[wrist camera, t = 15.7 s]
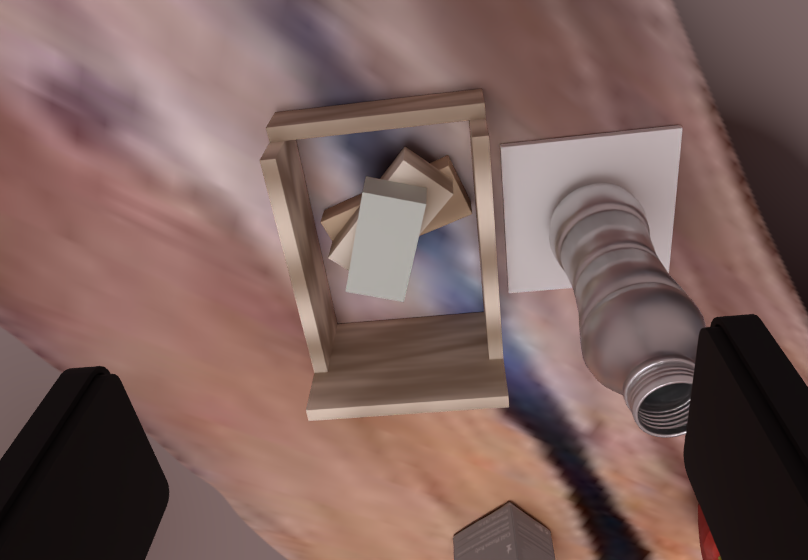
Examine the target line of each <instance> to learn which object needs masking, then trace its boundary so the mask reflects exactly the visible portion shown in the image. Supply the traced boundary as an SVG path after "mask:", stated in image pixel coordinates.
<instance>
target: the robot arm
mask: <svg viewBox="0 0 808 560" xmlns="http://www.w3.org/2000/svg"><path fill="white" fill-rule="evenodd" d="M684 463H685V468H686V472H687V475H688V478H689V480H690V483H691V485H692V488H693V490H694V492H695V495H696V497H697V500H698V502H699V505H700V507H701V510H702V512H703V515H704V517H705V520H706V522H707V524H708V527H709V529H710V532H711V534H712V537H713V539H714V542H715V544H716V547H717V549H718V552H719V554H720V557H721V559H722V560H808V387H807V385H806V384H805V382H804V381H803V379H802V378H801V377H800V375H799V374H798V372H797V371H796V369H795V368H794V367H793V365H792V364H791V362H790V361H789V359H788V358H787V356H786V355H785V354H784V352H783V351H782V349H781V348H780V346H779V345H778V344H777V342H776V341H775V339H774V338H773V336H772V335H771V333H770V332H769V331H768V329H767V328H766V326H765V325H764V323H763V322H762V321H761V319H760V318H759V317H758V316H757V315H754V314H749V315H736V316H723V317H716V318H714V319H713V321H712V322H711V326H710V327H705V328H701V330H700V332H699V337H698V345H697V352H696V360H695V367H694V375H693V383H692V390H691V398H690V406H689V413H688V421H687V429H686V436H685V444H684ZM168 499H169V486H168V482H167V480H166V478H165V475H164V473H163V471H162V469H161V467H160V465H159V462H158V460H157V458H156V456H155V454H154V452H153V449H152V447H151V445H150V443H149V441H148V439H147V436H146V434H145V432H144V430H143V428H142V425H141V423H140V421H139V419H138V417H137V415H136V412H135V410H134V408H133V406H132V404H131V402H130V399H129V397H128V395H127V393H126V391H125V389H124V386H123V384H122V382H121V380H120V378H119V377H118V376H117V375H116V374H110V372H109V370H108V369H106V368H105V367H102V366H95V367H83V368H70V369H67V370H65V371H64V372H63V373H62V374H61V375H60V377H59V378H58V379H57V381H56V382H55V384H54V385H53V386H52V388H51V389H50V391H49V392H48V393H47V395H46V396H45V398H44V399H43V401H42V402H41V403H40V405H39V406H38V407H37V409H36V410H35V412H34V413H33V415H32V416H31V417H30V419H29V420H28V422H27V423H26V425H25V426H24V427H23V429H22V430H21V431H20V433H19V434H18V436H17V437H16V439H15V440H14V442H13V443H12V444H11V446H10V447H9V449H8V450H7V451H6V453H5V454H4V455H3V457H2V458H1V460H0V560H145V558H146V556H147V553H148V551H149V548H150V546H151V544H152V541H153V539H154V536H155V534H156V531H157V529H158V526H159V524H160V521H161V519H162V516H163V514H164V511H165V509H166V507H167V503H168Z"/></svg>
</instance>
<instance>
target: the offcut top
mask: <svg viewBox="0 0 808 560" xmlns="http://www.w3.org/2000/svg"><path fill="white" fill-rule="evenodd" d="M426 195H427V188H424V187H419V186H414V185H409V184H403V183H398V182H393V181H388V180H382V179H377V178H372V177H367V176H366V178H365V183H364V188H363V192H362V198H361V204H360V210H359V216H358V221H357V227H356V233H355V239H354V245H353V251H352V257H351V263H350V268H349V274H348V280H347V286H346V292H350V293H355V294H361V295H367V296H372V297H378V298H383V299H389V300H394V301H400V302H404V299H405V295H406V290H407V286H408V282H409V277H410V273H411V268H412V264H413V260H414V255H415V251H416V247H417V242H418V238H419V234H420V229H421V225H422V220H423V216H424V212H425V207H426Z"/></svg>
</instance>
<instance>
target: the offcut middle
mask: <svg viewBox="0 0 808 560" xmlns="http://www.w3.org/2000/svg"><path fill="white" fill-rule="evenodd" d="M380 179H382V180H388V181H393V182H398V183H403V184H409V185H414V186H419V187H424V188H427V195H426V207H425V212H424V216H423V220H422V225H421V229H420V234H421V233H422V231H423V230H424V229H425V228H426V227H427V225H428V224H429V223H430V222H431V221H432V219H433V218H434V217H435V216H436V215H437V213H438V212H439V211H440V210H441V209H442V208H443V206H444V205H445V204H446V203H447V202H448V200H449V199H450V198H451V197H452V196H453V180H452V179H451V178H450V177H448V176H447V175H445V174H444V173H443V172H441V171H440V170H438V169H437V168H435V167H434V166H432V165H431V164H430V163H428V162H427V161H425V160H424V159H422V158H421V157H419V156H418V155H417V154H415V153H414V152H412V151H411V150H409V149H408V148H406V147H404V148H403V149H402V151H401V152H400V153H399V155H398V156H397V157H396V159H395V160H394V161H393V163H392V164H391V165H390V166H389V168H388V169H387V170H386V172H385V173H384V174H383V176H382V177H381V178H380ZM359 210H360V206H359V207H358V209H357V210H356V211H355V212H354V214H353V215H352V216H351V218H350V219H349V220H348V222H347V223H346V224H345V226H344V227H343V228H342V230H341V231H340V232H339V233H338V235H337V236H336V237H335V239H334V240H333V241H332V245H331V249H330V253H329V257H328V258H329V259H330V260H332V261H334V262H335V263H337V264H339V265H340V266H342V267H344V268H345V269H347V270H348V271H349V268H350V263H351V257H352V251H353V245H354V239H355V233H356V227H357V221H358V216H359ZM420 234H419V235H420Z"/></svg>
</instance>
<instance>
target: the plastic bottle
mask: <svg viewBox="0 0 808 560" xmlns="http://www.w3.org/2000/svg"><path fill="white" fill-rule="evenodd" d="M549 242H550V248H551V250H552V253H553V255H554V257H555V258H556V260H557V262H558V263H559V265H560V266H561V268H562V269H563V270H564V272H565V273H566V275H567V277H568V279H569V281H570V283H571V285H572V288H573V290H574V294H575V298H576V304H577V308H578V313H579V328H580V343H581V350H582V355H583V359H584V362H585V364H586V366H587V368H588V369H589V370H590V372H591V373H592V374H593V375H594V376H595V378H596V379H597V380H598V381H599V382H600V383H601V384H602V385H604V386H605V387H607V388H609V389H611V390H612V391H615V392H617V393H619V394H621V395H623V397H624V399H625V402H626V405H627V406H628V408H629V409H630V410H631V412H632V414H633V417H634V420H635V422H636V423H637V425H638V426H639V428H640V429H641V430H643V431H644V432H646V433H647V434H649V435H652V436H656V437H676V436H680V435H684V434H686V429H687V421H688V413H689V406H690V398H691V390H692V383H693V375H694V367H695V360H696V352H697V345H698V337H699V332H700V330H701V328H705V327H706V325H705V321H704V317H703V315H702V314H701V312H700V310H699V309H698V307H697V306H696V305H695V303H694V302H693V300H692V299H691V298H690V297H689V296H688V295H687V294H686V293H685V291H684V290H683V289H682V288H681V287H680V286H679V285H678V284H677V283H676V282H675V280H674V279H673V278H672V277H671V276H670V275H669V273H668V272H667V270H666V269H665V267H664V266H663V264H662V263H661V261H660V260H659V258H658V256H657V255H656V252H655V249H654V246H653V243H652V241H651V238H650V229H649V225H648V221H647V217H646V214H645V210H644V209H643V207H642V205H641V204H640V202H639V201H638V200H637V199H636V198H635V197H634V196H632V195H631V194H630V193H629V192H628V191H626V190H625V189H623V188H621V187H619V186H617V185H614V184H608V183H594V184H590V185H586V186H583V187H581V188H578V189H576V190H575V191H573V192H571V193H570V194H569V195H567V196H566V197H565V198H564V199H563V200H562V201H561V202H560V203H559V205H558V206H557V207H556V209H555V211H554V213H553V215H552V218H551V221H550V231H549Z"/></svg>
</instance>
